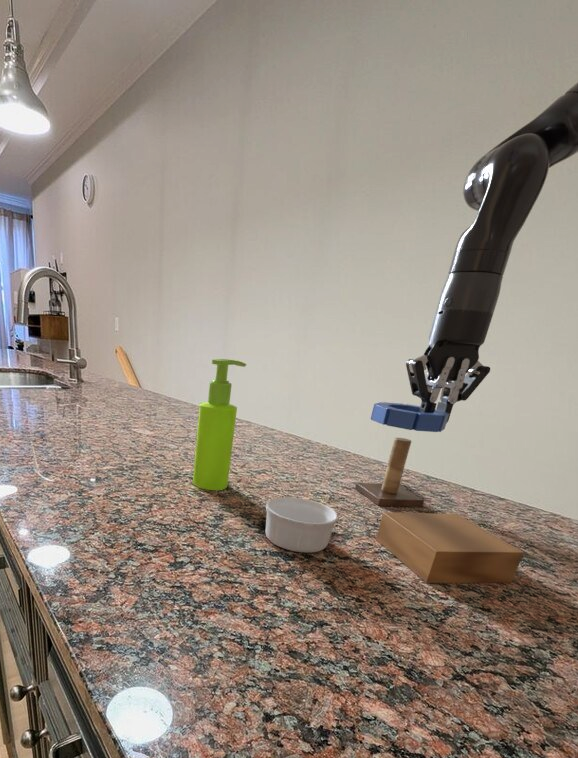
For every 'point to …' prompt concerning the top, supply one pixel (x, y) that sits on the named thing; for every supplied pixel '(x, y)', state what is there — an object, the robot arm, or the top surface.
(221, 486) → the soap dispenser
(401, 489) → the post
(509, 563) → the platform
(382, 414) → the ring
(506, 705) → the top surface
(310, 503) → the ramekin
